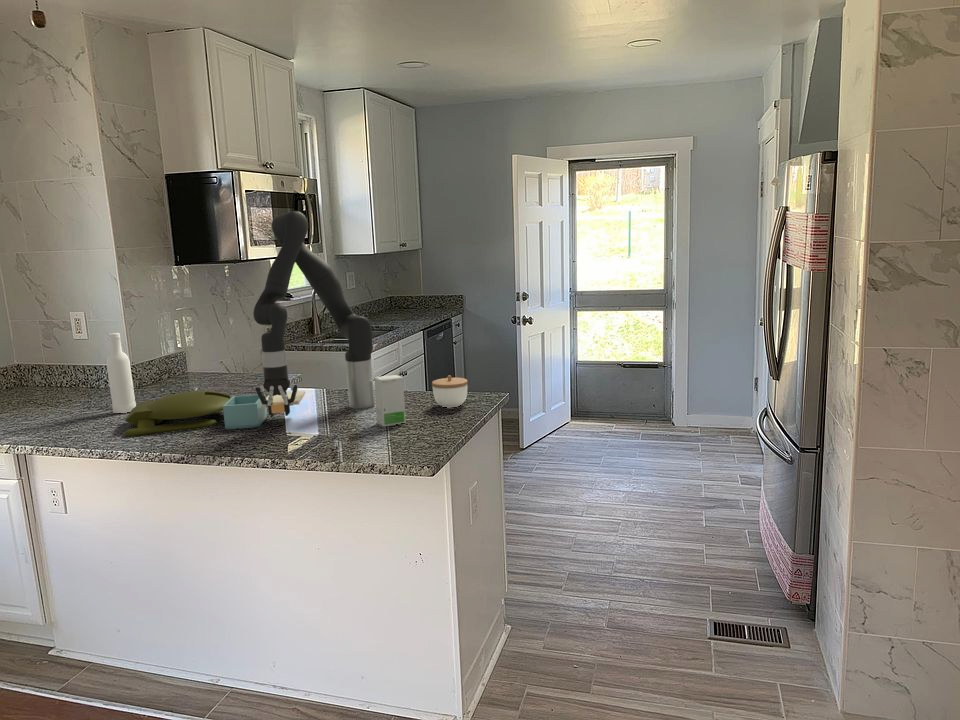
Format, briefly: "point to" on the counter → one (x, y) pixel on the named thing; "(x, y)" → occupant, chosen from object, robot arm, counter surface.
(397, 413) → the skincare box
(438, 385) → the lidded bowl
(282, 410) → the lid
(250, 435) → the counter surface
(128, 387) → the bottle
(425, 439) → the counter surface
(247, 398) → the tub
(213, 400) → the spaceship
